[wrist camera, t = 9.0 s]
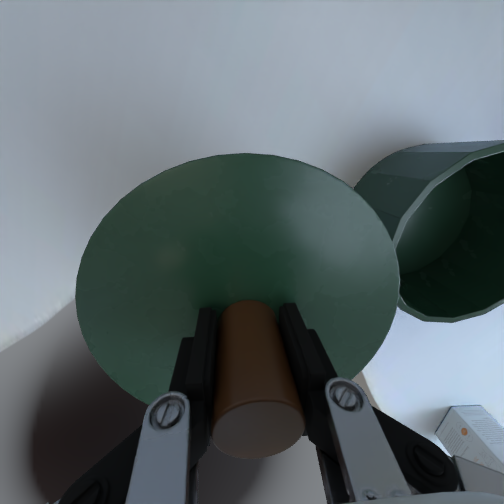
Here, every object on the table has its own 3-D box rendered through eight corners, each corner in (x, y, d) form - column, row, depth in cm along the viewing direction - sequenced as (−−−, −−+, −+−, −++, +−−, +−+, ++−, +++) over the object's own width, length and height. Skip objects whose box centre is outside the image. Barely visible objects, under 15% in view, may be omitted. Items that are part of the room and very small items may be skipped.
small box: (462, 432, 45) (546, 532, 33) (433, 433, 44) (508, 536, 33) (482, 404, 42) (582, 503, 30) (451, 405, 41) (540, 507, 29)
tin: (406, 113, 22) (502, 91, 14) (498, 192, 26) (613, 209, 18) (314, 244, 27) (348, 282, 19) (404, 294, 31) (464, 343, 23)
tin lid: (161, 65, 8) (18, -124, 3) (445, 253, 13) (621, 335, 7) (54, 363, 13) (-81, 523, 7) (286, 426, 17) (314, 559, 12)
